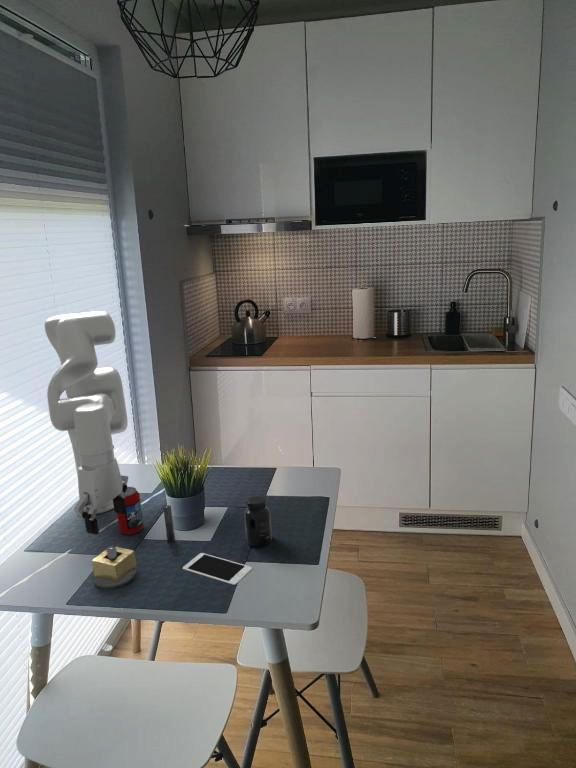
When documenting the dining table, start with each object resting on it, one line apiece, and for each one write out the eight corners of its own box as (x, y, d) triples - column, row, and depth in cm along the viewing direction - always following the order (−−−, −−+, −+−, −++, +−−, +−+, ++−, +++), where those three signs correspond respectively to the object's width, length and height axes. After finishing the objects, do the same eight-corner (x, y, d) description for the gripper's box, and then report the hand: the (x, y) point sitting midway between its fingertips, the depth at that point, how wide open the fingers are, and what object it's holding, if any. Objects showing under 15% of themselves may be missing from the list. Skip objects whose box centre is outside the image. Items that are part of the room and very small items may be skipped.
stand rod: (166, 540, 160) (162, 506, 157) (172, 537, 161) (168, 504, 158) (169, 543, 158) (165, 509, 156) (176, 540, 159) (172, 507, 157)
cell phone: (235, 586, 138) (234, 584, 138) (181, 570, 146) (181, 568, 146) (253, 569, 145) (253, 567, 145) (201, 554, 153) (201, 552, 153)
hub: (88, 576, 145) (83, 547, 143) (127, 561, 151) (123, 533, 149) (102, 595, 138) (97, 564, 135) (143, 578, 143) (138, 549, 141)
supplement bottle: (241, 542, 157) (237, 500, 154) (259, 531, 162) (256, 491, 158) (259, 550, 152) (255, 508, 149) (277, 539, 157) (274, 498, 154)
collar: (94, 576, 142) (91, 560, 141) (113, 561, 148) (111, 545, 147) (117, 582, 139) (114, 565, 138) (136, 566, 146) (133, 550, 144)
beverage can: (137, 536, 163) (132, 496, 160) (115, 535, 164) (109, 496, 161) (148, 524, 169) (142, 486, 166) (126, 523, 171) (120, 485, 167)
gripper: (109, 441, 145) (118, 503, 150) (56, 470, 130) (68, 538, 135) (134, 444, 142) (142, 508, 147) (83, 475, 127) (94, 544, 132)
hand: (107, 522), depth 141 cm, fingers open, 9 cm apart
